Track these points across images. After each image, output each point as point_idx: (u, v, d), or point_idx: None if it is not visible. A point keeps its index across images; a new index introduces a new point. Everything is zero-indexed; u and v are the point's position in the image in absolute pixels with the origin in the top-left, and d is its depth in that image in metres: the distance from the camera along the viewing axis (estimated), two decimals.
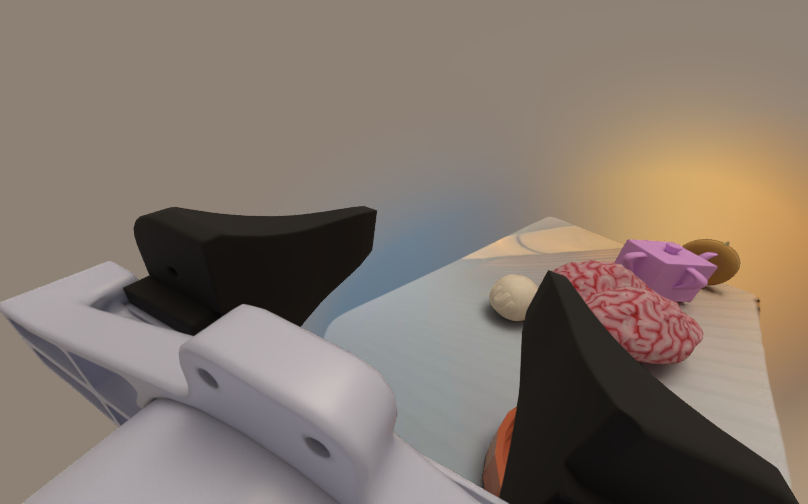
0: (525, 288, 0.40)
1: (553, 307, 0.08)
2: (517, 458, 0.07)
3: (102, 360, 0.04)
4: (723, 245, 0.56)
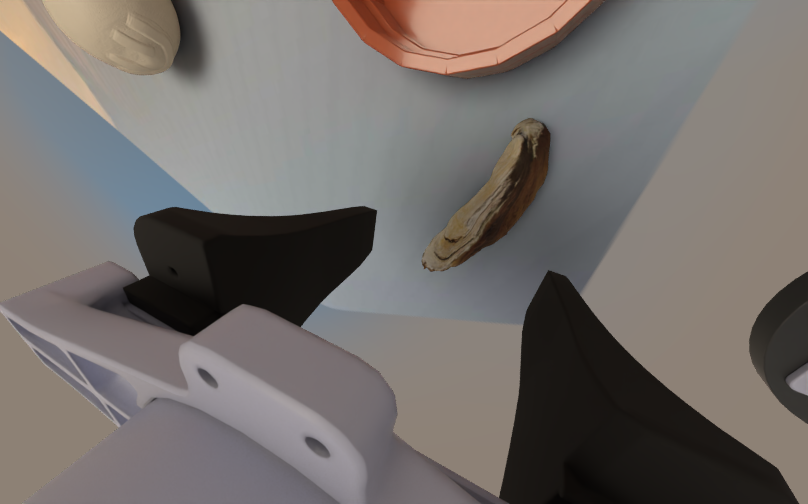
0: None
1: (553, 307, 0.08)
2: (517, 458, 0.07)
3: (102, 360, 0.04)
4: None
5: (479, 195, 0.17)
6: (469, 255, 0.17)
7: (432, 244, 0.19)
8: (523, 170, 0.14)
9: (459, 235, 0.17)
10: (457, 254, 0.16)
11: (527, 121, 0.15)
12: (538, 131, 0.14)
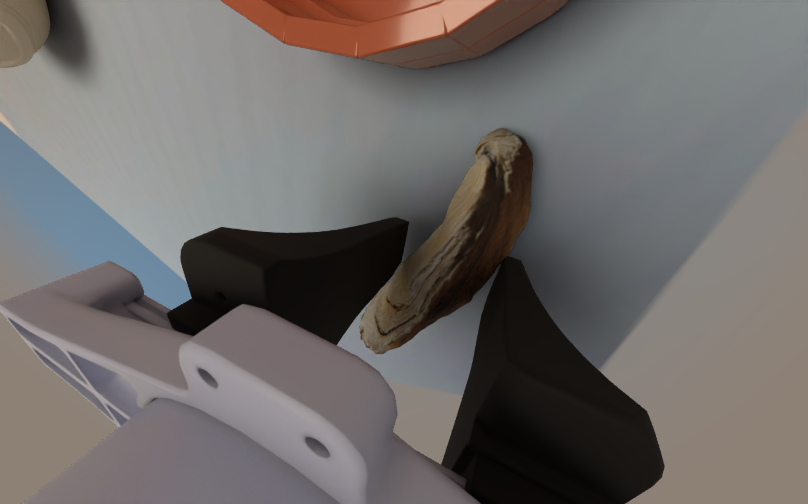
0: None
1: (500, 287, 0.09)
2: (456, 426, 0.07)
3: (102, 360, 0.04)
4: None
5: (430, 242, 0.11)
6: (416, 332, 0.11)
7: (375, 301, 0.14)
8: (489, 213, 0.09)
9: (402, 302, 0.11)
10: (395, 335, 0.11)
11: (497, 133, 0.09)
12: (512, 150, 0.09)
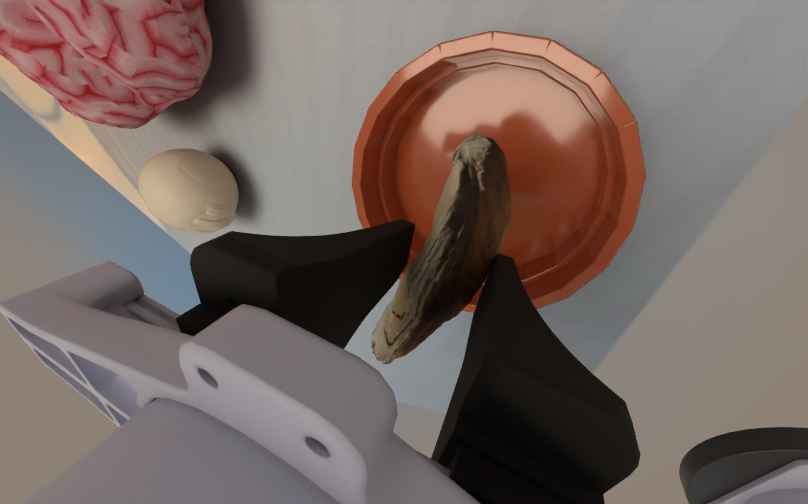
0: (165, 198, 0.22)
1: (491, 283, 0.09)
2: (446, 420, 0.08)
3: (102, 360, 0.04)
4: None
5: (423, 249, 0.11)
6: (420, 338, 0.11)
7: (385, 315, 0.14)
8: (467, 211, 0.09)
9: (403, 311, 0.12)
10: (398, 342, 0.11)
11: (468, 138, 0.10)
12: (482, 151, 0.09)
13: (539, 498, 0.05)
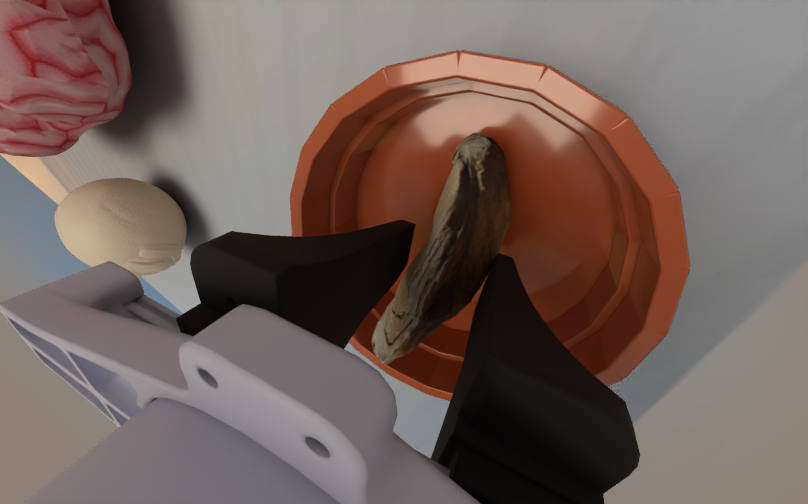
0: (85, 241, 0.18)
1: (491, 283, 0.09)
2: (446, 420, 0.08)
3: (102, 360, 0.04)
4: None
5: (423, 249, 0.11)
6: (420, 338, 0.11)
7: (385, 315, 0.14)
8: (467, 211, 0.09)
9: (403, 310, 0.12)
10: (397, 342, 0.11)
11: (468, 138, 0.10)
12: (482, 151, 0.09)
13: (539, 498, 0.05)
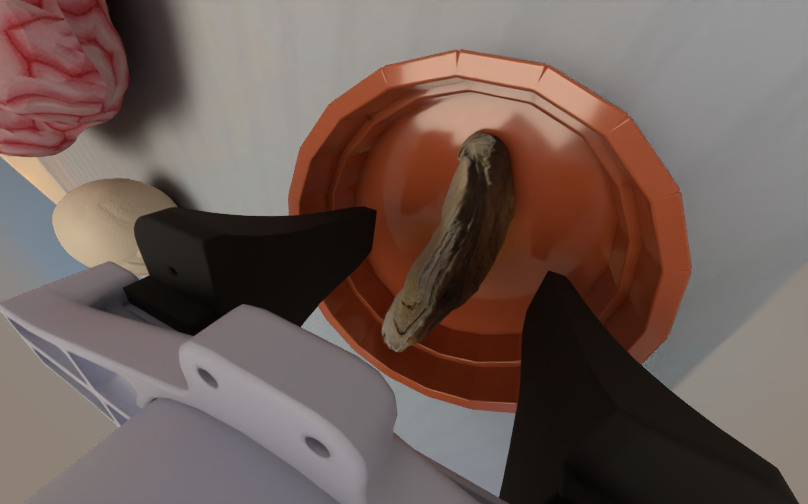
0: (82, 242, 0.18)
1: (553, 307, 0.08)
2: (517, 458, 0.07)
3: (102, 360, 0.04)
4: None
5: (431, 242, 0.12)
6: (431, 326, 0.12)
7: (393, 307, 0.15)
8: (476, 205, 0.10)
9: (414, 301, 0.12)
10: (411, 331, 0.12)
11: (473, 136, 0.11)
12: (488, 148, 0.10)
13: None
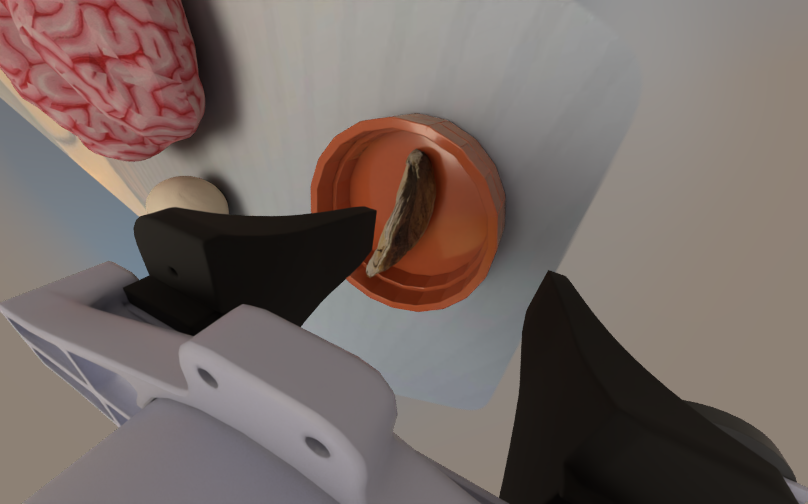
0: None
1: (553, 307, 0.08)
2: (517, 458, 0.07)
3: (102, 360, 0.04)
4: None
5: None
6: (392, 260, 0.21)
7: (373, 256, 0.24)
8: (411, 189, 0.19)
9: (383, 246, 0.21)
10: (380, 261, 0.20)
11: (412, 151, 0.20)
12: (418, 158, 0.19)
13: None
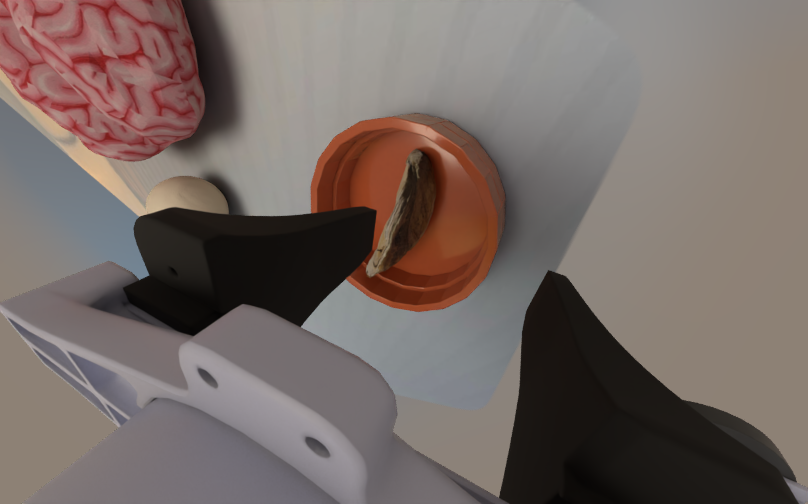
0: None
1: (553, 307, 0.08)
2: (517, 458, 0.07)
3: (102, 360, 0.04)
4: None
5: None
6: (392, 260, 0.21)
7: (373, 256, 0.24)
8: (411, 189, 0.19)
9: (383, 246, 0.21)
10: (380, 261, 0.20)
11: (412, 151, 0.20)
12: (418, 158, 0.19)
13: None
